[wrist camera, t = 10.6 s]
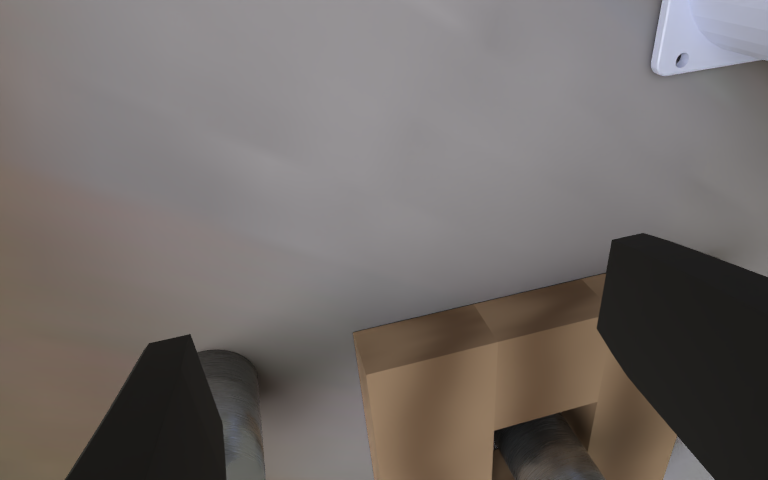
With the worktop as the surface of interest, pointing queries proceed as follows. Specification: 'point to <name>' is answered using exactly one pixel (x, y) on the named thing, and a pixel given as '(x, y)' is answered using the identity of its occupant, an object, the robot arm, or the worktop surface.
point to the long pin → (545, 451)
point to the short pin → (237, 411)
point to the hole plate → (503, 388)
